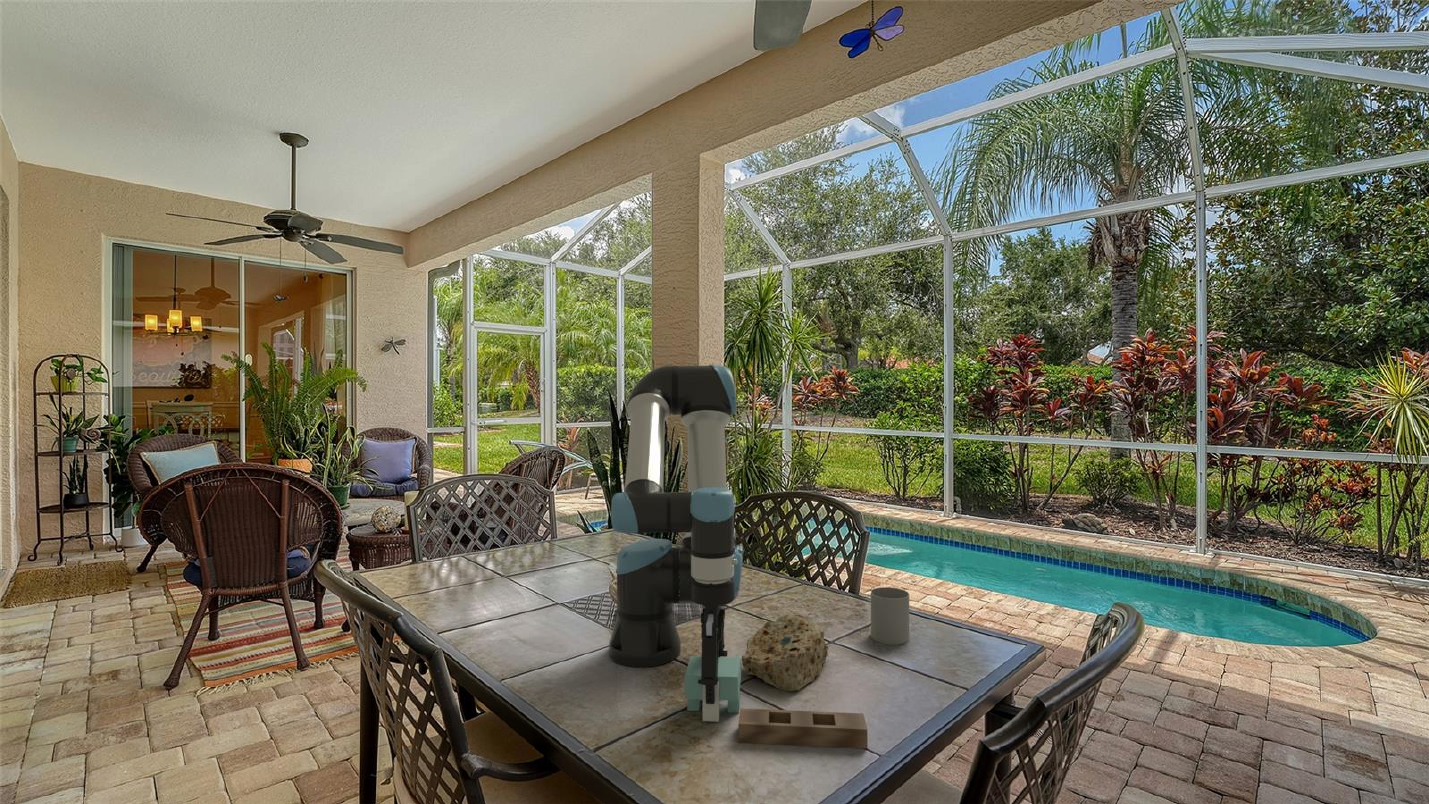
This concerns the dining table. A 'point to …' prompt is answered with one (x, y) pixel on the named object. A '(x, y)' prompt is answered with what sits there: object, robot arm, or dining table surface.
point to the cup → (890, 615)
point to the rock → (786, 652)
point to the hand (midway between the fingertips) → (713, 706)
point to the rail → (802, 728)
